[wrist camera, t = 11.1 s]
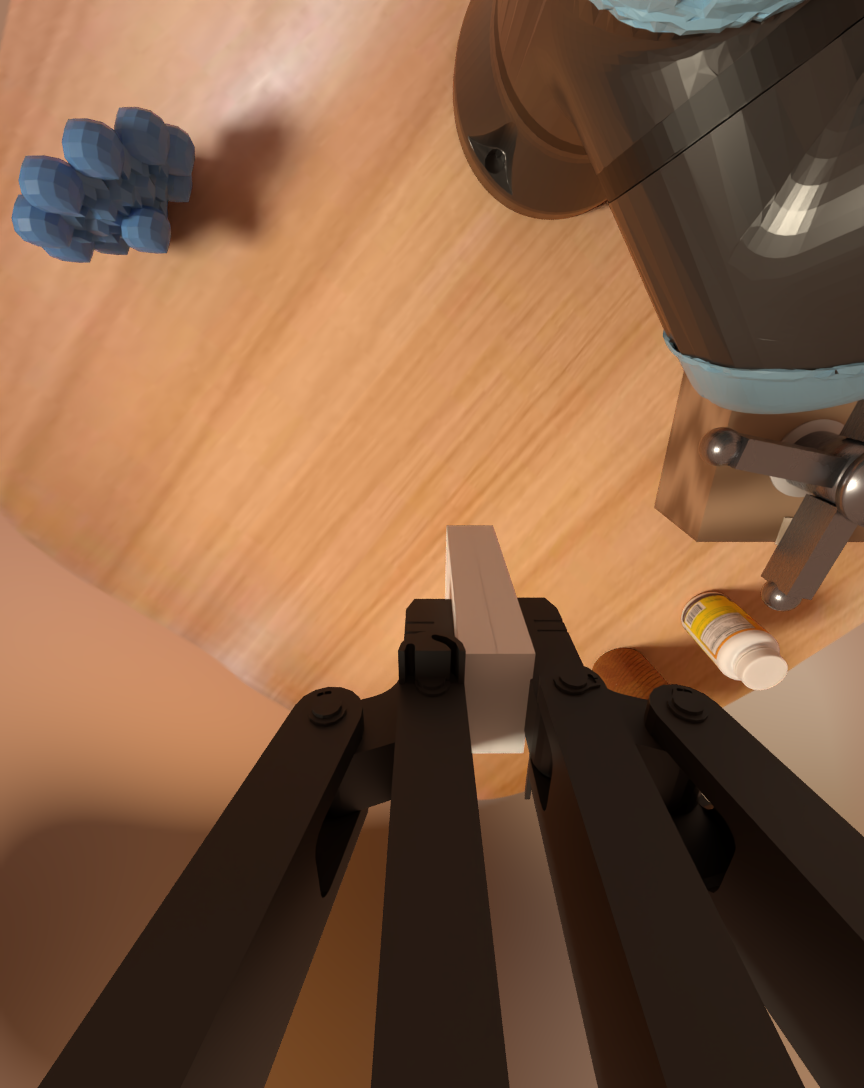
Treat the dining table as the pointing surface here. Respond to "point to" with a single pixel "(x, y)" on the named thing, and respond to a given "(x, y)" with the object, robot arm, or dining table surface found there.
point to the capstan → (822, 520)
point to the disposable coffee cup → (628, 673)
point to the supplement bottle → (734, 641)
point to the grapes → (106, 187)
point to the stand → (734, 473)
